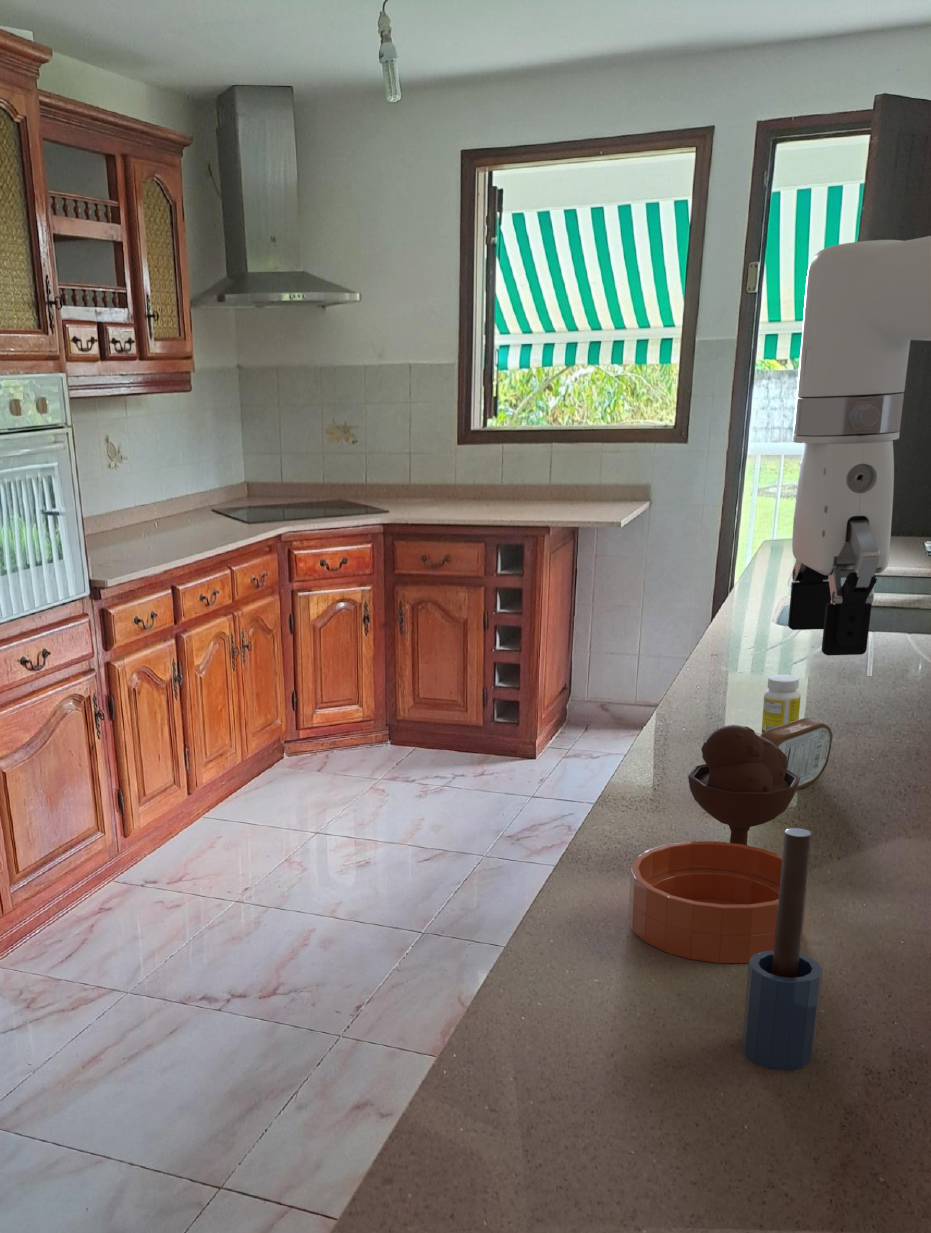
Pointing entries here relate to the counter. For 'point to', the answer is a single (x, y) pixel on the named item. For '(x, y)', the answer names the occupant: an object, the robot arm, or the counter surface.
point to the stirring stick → (791, 902)
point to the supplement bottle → (781, 701)
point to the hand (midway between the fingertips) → (824, 640)
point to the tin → (803, 747)
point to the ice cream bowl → (742, 780)
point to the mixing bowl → (706, 900)
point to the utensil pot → (781, 1013)
